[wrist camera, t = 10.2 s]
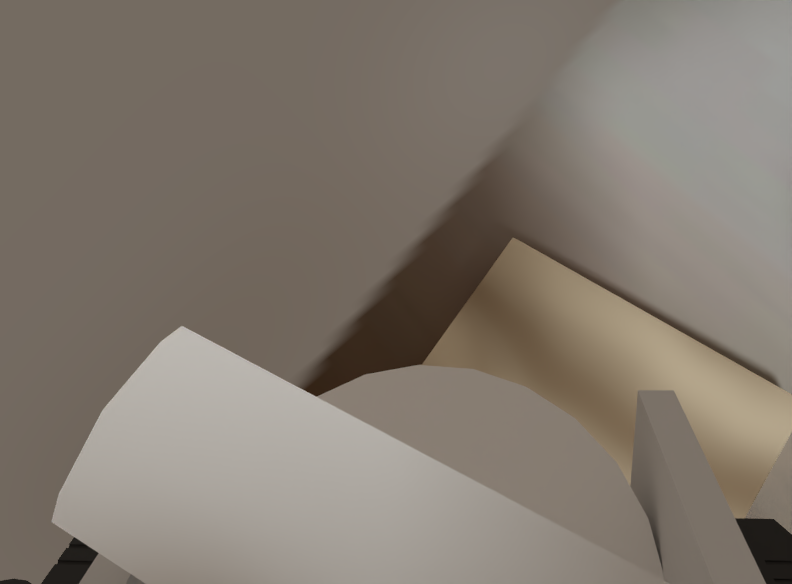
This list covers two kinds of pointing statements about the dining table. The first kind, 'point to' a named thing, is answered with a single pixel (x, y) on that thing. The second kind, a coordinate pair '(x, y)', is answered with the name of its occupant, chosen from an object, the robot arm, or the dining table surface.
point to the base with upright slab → (348, 480)
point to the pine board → (615, 367)
